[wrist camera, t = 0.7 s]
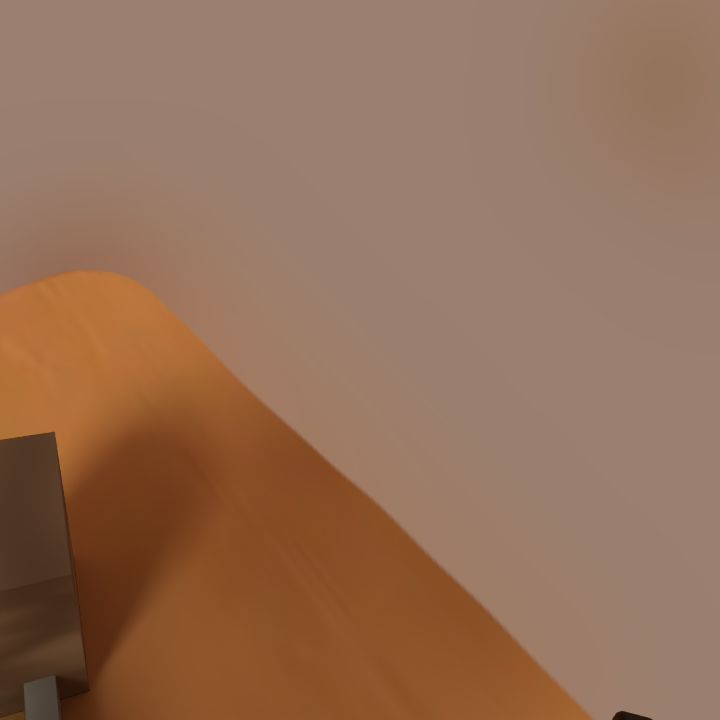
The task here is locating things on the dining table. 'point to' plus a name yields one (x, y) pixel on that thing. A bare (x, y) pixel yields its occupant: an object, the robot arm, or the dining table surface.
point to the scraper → (37, 584)
